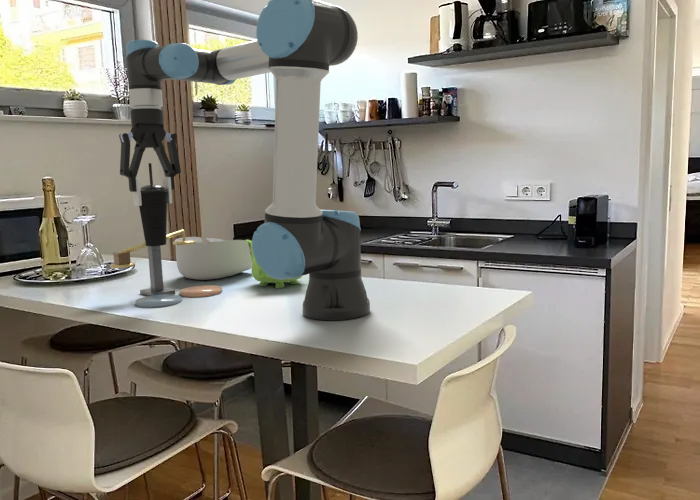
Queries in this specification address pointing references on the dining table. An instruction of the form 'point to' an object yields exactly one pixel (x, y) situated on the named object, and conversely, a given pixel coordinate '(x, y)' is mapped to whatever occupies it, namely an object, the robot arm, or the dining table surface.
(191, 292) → the orange disc
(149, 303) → the dish low side
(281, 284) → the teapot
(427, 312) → the dining table surface
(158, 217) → the drinking cup
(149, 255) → the balance
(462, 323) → the dining table surface
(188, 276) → the bowl
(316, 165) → the robot arm
